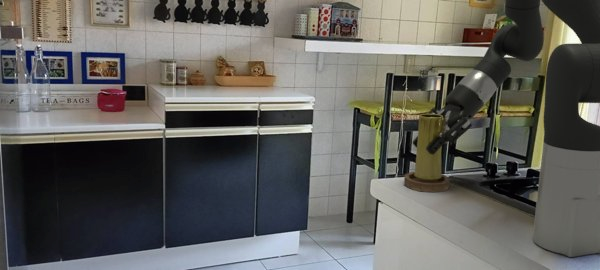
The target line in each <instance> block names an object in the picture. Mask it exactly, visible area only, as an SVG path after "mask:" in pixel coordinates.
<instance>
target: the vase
mask: <svg viewBox="0 0 600 270" xmlns="http://www.w3.org/2000/svg"><path fill="white" fill-rule="evenodd" d="M442 122H443V116H442V115H439V114H428V113H421V114H419V116H418V129H417V130H418V131H417V136H418V141H417V148H416V157H415V168H414V172H415V173H414V176H415V177H417V178H419V179H423V180H437V179H440V178H441V177H442V175H441V174H442V148H443V145H442V146H441V147H440V148H439V149H438V151H437V152H435V153H434V154H433V155H432V154H430V153H429V152H428V151H427V150H426V147H427V146H428V145H429V144H430V143H431V141H432V140H433V139H434V138H435V137H436V136H437V137H438V134H439V132H440V130H441V126H442Z"/></svg>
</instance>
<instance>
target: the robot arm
mask: <svg viewBox="0 0 600 270" xmlns="http://www.w3.org/2000/svg"><path fill="white" fill-rule="evenodd" d="M541 2H542V3H543V5H544V6H545V7H546V8H547V9H548V10H549V11H551V13H552V14H554V15H555V16H556V17H557V18H558V19H559V20H560V21H562V22H563V23H564V24H566V25H567V26H568V27H569V29H571V30H572V31H573V33H574V34H575V36H577V37H578V39H579V41H580V43H563V44H559V45H557V46H556V47H555V48H554V49H553V51H552V52H551V54H550V55H549V58H548V62H547V65H546V71H545V91H544V92H545V93H544V108H543V109H544V110H543V141H542V142H543V143H542V149H541V150H542V152H541V158H540V159H541V160H540V168H539V178H538V188H537V194H536V195H537V196H536V202H535V203H536V204H535V212H534V223H533V231H532V232H533V233H532V241H533V242H534V243H535V244H536V245H537V246H539V247H540V248H542V249H545V250H547V251H550V252H553V253H557V254H560V255H561V254H562V255H564V256H566V257H569V258H573V257H574V258H575V257H580V256H581V257H582V256H587V255H593V254H598V253H600V125H598V124H595V123H592V122H590V121H588V120H586V119H584V118H583V117H581V116H580V111H579V109H580V108H579V104H600V0H505V3H504V13H505V16H506V17H507V18H508V19H509V20H511V21H513V23H508V24H505V25H503V26H501V27H500V28H499V29H498V30H497V31H496V32H495V34H494V36H493V37H492V40H491V42H490V43H489V45H488V48H487V50H486V52H485V54H484V56H483V58H482V59H480V60H479V62H478V63H477V64H476V65H475V66H474V67H473V69H471V71H469V73H467V74H466V75H465V76H464V77H463V78H462V79H461V80H460V81H459V82H458V83H457V85H455V87H454V88H453V89H452V90H451V91H450V92H449V94H447V96H445V105H444V106H443V107H442V108H440V109H439V110H437V109H436V108H435V107H433V108H431V109H430V110H429V111H428V113H427V114H439V115H442V116H443V122H442V126H441V130H440V132H439V134H438V137H437V136H436V137H435V138H434V139H433V140H432V141H431V143H430V144H429V145H428V146H427V147H426V150H427V151H428V152H429V153H430V154H432V155H433V154H434V153H435V152H437V151H438V149H439V148H440V147H441V146H442V147H443V145H444V144H447V143H451V144H454V143H455V142H456V141H457V140H458V139H459V138H460V137H461V136H463V135H464V134H465V133H466V132H467V131H468V130H469V129H471V128H472V126H473V124H472V123H471V121H470V120H472V119H473V118H474V117H475V116H476V115H477V114H478V112H480V110H481V109H482V108H483V107H484V106H485V105H486V103H487V102H489V100H490V99H491V98H492V97H493V96H494V94H495V92H496V91H497V90H498V88H500V86H502V84H503V83H504V81H506V80H507V79H508V77H509V76H510V74H511V73H512V67H511V65H510V63H509V62H508V61H507V60H506V59H505V58H504V57H506V56H508V57H511V58H515V59H516V60H519V61H523V62H530V61H533V60H534V59H536V58H538V56H539V55H540V54H541V52H542V50H543V46H544V42H545V41H544V40H545V38H544V36H545V35H544V30H543V24H542V18H541V12H540V5H541ZM417 141H418V135H417V136H416V137H415V138H414V139H413V141H412V145H413V146H414V147H415V148H416V149H417Z"/></svg>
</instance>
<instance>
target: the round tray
mask: <svg viewBox="0 0 600 270" xmlns="http://www.w3.org/2000/svg"><path fill="white" fill-rule="evenodd" d="M414 173H415V171H411V172H408V173H406V174H404V180H403V181H404V182H403V183H404V186H405V187H407V188H408V189H411V190H413V191H418V192H425V193H439V192H440V193H441V192H444V191H447V190H448V189H449V188H450V182H451V181H450V177H449V176H446V175H444V174H443V173H441V175H442V177H441V178H440V179H437V180H423V179H419V178H417V177H415V176H414Z"/></svg>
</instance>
